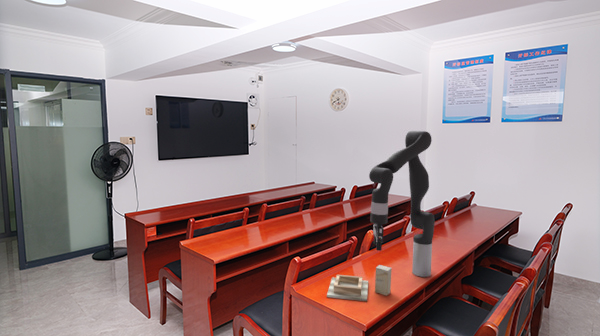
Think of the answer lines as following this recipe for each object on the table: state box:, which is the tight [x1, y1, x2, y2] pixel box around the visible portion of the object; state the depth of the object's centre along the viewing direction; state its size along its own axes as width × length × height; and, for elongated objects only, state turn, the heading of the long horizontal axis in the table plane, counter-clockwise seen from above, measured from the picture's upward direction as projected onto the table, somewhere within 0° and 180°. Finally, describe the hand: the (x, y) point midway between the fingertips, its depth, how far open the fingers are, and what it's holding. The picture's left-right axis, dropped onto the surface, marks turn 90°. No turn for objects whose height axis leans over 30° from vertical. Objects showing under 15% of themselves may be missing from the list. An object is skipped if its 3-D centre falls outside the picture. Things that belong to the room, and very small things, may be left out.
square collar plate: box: [326, 274, 369, 302], centre depth 161 cm, size 18×18×4 cm
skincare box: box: [374, 264, 392, 296], centre depth 158 cm, size 6×4×12 cm
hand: (377, 247), depth 153 cm, fingers open, 8 cm apart
